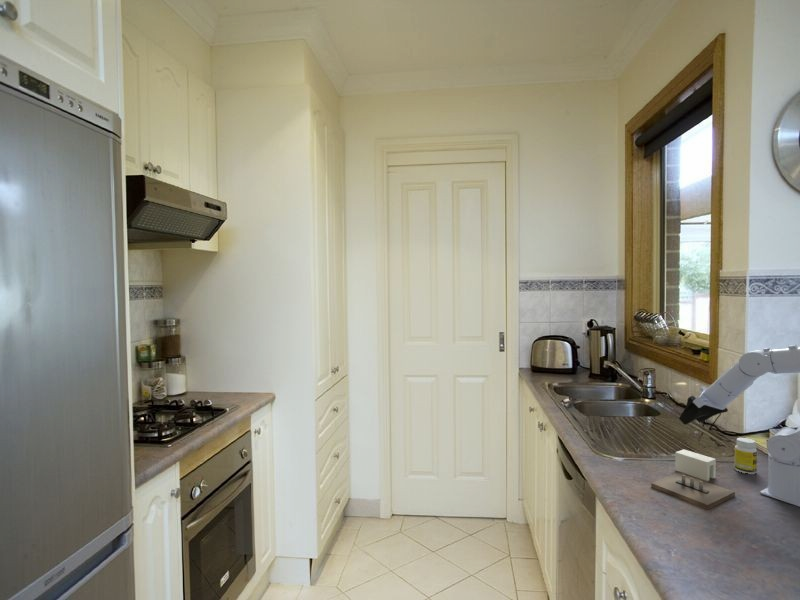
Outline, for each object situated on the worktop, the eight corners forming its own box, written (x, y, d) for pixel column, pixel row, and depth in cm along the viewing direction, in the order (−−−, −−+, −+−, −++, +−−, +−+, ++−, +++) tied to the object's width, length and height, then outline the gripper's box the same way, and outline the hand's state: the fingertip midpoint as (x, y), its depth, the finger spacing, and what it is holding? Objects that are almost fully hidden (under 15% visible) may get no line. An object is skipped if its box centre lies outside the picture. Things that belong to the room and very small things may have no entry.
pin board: (734, 495, 107) (734, 482, 107) (707, 509, 101) (707, 495, 101) (678, 475, 118) (678, 463, 118) (651, 486, 112) (651, 474, 112)
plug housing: (715, 477, 117) (715, 459, 117) (707, 481, 115) (707, 462, 115) (683, 467, 124) (683, 449, 124) (675, 470, 122) (675, 452, 122)
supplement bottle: (756, 476, 117) (757, 444, 117) (734, 471, 120) (734, 440, 120) (756, 469, 121) (756, 439, 121) (734, 465, 124) (734, 435, 124)
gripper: (728, 374, 121) (691, 406, 128) (700, 376, 114) (663, 410, 121) (751, 395, 116) (712, 427, 124) (724, 398, 109) (684, 432, 116)
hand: (689, 420), depth 122 cm, fingers open, 7 cm apart
